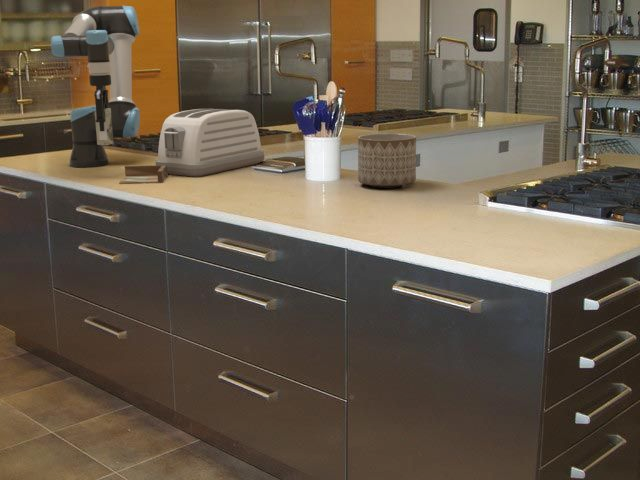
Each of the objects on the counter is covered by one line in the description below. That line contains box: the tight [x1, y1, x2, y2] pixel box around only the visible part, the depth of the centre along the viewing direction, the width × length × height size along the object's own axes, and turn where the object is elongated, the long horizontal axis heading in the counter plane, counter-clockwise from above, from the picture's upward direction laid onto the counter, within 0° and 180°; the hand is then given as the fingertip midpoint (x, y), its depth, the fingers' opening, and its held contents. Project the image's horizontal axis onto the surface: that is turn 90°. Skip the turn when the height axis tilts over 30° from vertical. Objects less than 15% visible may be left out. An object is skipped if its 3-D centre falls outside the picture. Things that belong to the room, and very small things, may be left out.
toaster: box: [155, 107, 265, 178], centre depth 341 cm, size 23×45×22 cm, turn 146°
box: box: [95, 108, 114, 146], centre depth 322 cm, size 5×4×13 cm
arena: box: [118, 164, 168, 185], centre depth 319 cm, size 15×15×4 cm
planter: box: [357, 132, 417, 189], centre depth 297 cm, size 19×19×16 cm
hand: (104, 138), depth 324 cm, fingers closed on box, 6 cm apart
